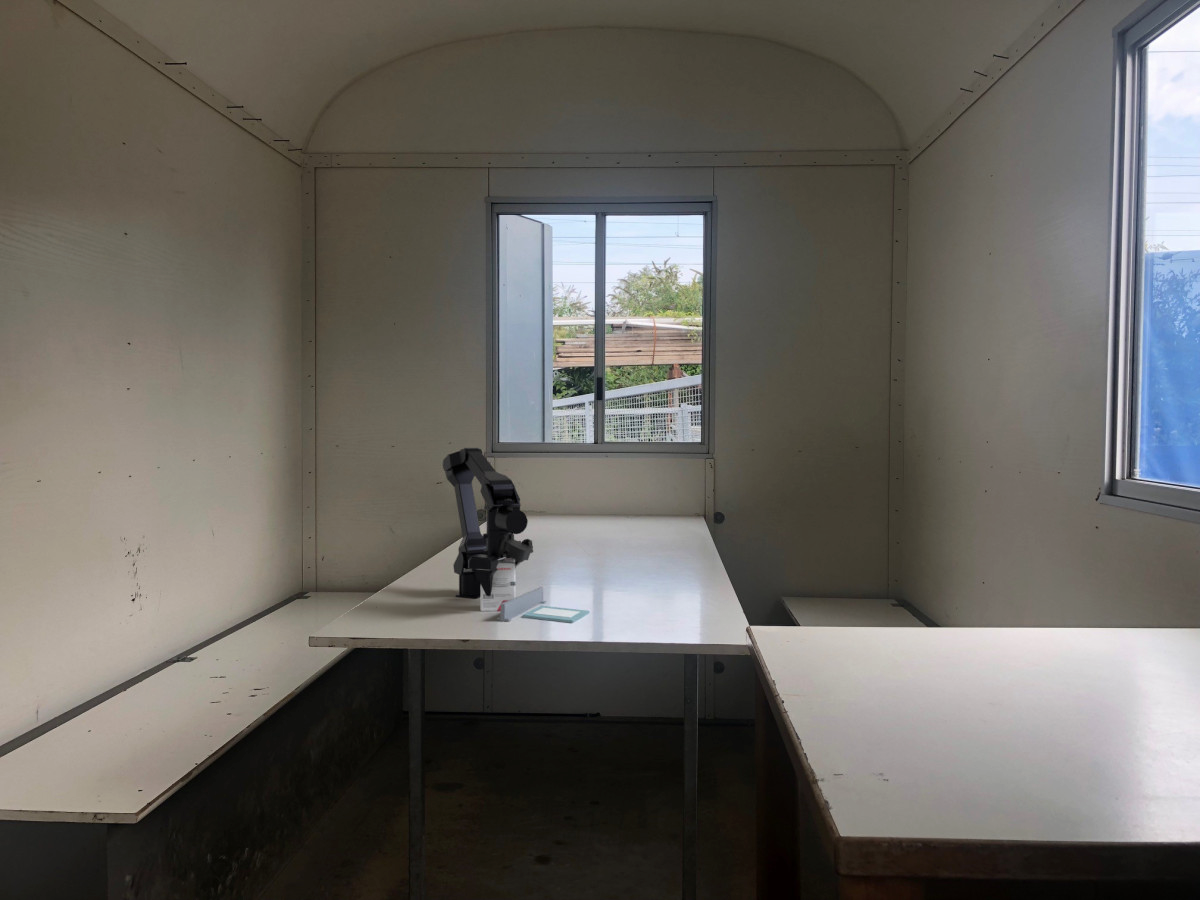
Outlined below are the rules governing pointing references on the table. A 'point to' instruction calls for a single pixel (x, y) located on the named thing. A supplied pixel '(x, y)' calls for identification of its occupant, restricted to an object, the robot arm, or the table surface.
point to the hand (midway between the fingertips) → (497, 592)
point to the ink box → (499, 587)
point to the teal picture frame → (556, 614)
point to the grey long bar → (521, 604)
